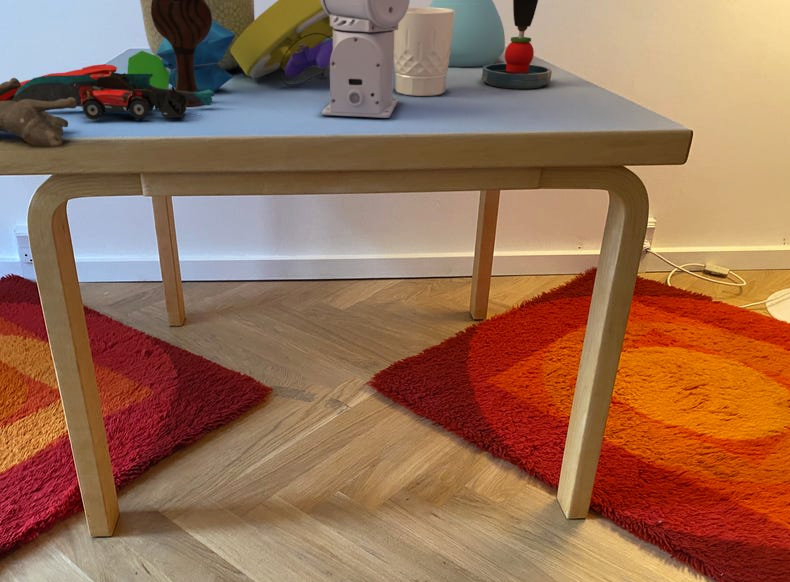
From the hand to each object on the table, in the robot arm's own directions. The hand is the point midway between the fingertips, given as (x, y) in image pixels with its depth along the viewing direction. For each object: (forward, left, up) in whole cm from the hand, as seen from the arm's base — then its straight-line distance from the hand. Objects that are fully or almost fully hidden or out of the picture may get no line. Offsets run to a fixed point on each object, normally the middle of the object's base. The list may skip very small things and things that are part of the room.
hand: (522, 25), depth 97 cm
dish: (0, 0, -8) cm, 8 cm away
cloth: (-20, +59, -5) cm, 62 cm away
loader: (-31, +44, -8) cm, 55 cm away
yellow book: (-2, +34, +1) cm, 34 cm away
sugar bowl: (+19, +9, -8) cm, 22 cm away
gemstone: (-20, +47, -5) cm, 51 cm away
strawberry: (0, 0, -6) cm, 6 cm away
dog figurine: (-39, +50, -5) cm, 64 cm away
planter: (+2, +48, -8) cm, 48 cm away
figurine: (-22, +41, -8) cm, 47 cm away
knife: (-30, +48, -3) cm, 56 cm away
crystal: (-15, +42, -8) cm, 45 cm away
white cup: (-9, +13, -8) cm, 18 cm away
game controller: (-6, +27, -8) cm, 29 cm away
